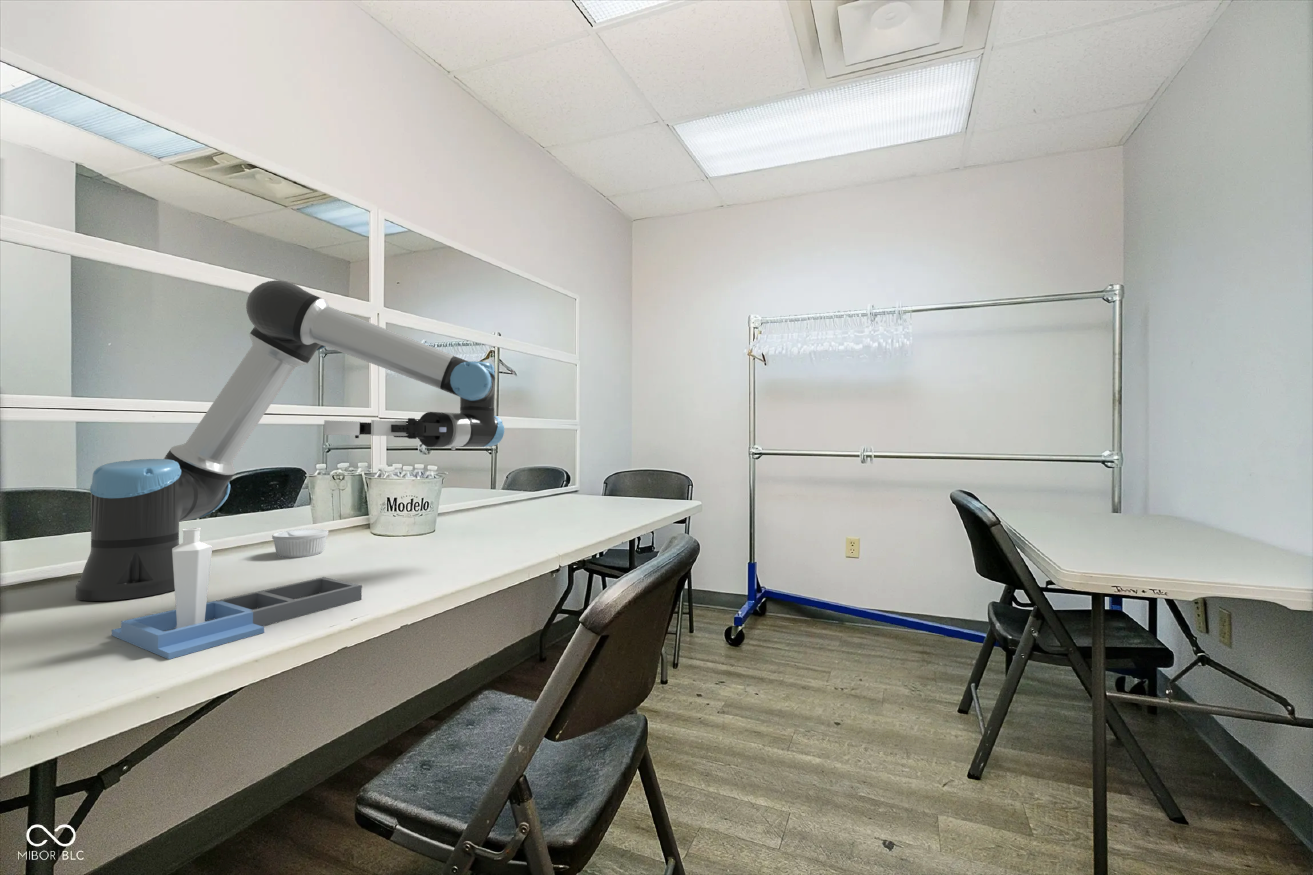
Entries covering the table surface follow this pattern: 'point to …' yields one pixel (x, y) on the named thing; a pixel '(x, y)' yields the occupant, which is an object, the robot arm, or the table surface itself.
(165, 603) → the table surface
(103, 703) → the table surface
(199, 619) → the perfume bottle
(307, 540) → the ramekin
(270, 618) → the compartment sorting tray
